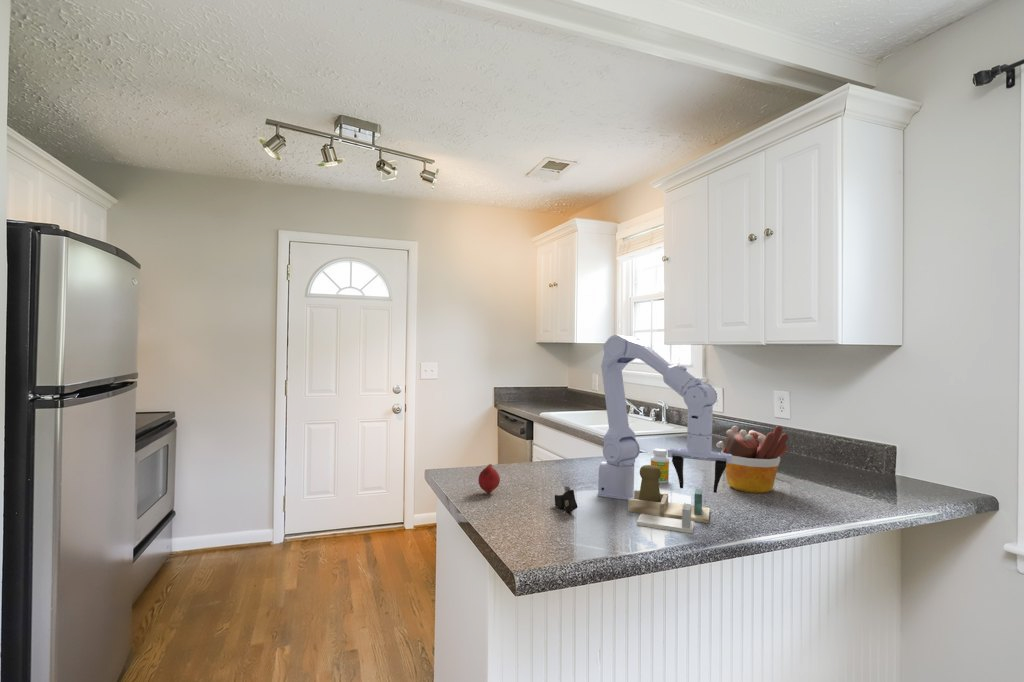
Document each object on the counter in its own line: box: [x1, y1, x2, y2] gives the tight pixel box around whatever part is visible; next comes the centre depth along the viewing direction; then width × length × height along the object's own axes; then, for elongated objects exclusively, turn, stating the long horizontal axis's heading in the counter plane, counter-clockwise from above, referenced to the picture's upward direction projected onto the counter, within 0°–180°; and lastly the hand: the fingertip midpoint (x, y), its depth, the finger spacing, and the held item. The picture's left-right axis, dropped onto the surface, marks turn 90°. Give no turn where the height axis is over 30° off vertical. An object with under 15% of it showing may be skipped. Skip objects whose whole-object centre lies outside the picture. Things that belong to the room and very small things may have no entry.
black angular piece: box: [554, 485, 579, 513], centre depth 125 cm, size 9×2×6 cm
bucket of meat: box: [715, 425, 789, 494], centre depth 151 cm, size 20×16×20 cm
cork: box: [639, 464, 661, 502], centre depth 128 cm, size 6×6×11 cm
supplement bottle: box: [650, 448, 670, 484], centre depth 157 cm, size 5×5×10 cm
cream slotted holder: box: [627, 488, 711, 524], centre depth 126 cm, size 18×10×6 cm, turn 67°
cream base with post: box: [636, 502, 695, 535], centre depth 116 cm, size 12×6×5 cm, turn 67°
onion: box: [478, 463, 501, 494], centre depth 138 cm, size 6×6×8 cm
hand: (698, 489), depth 124 cm, fingers open, 7 cm apart
